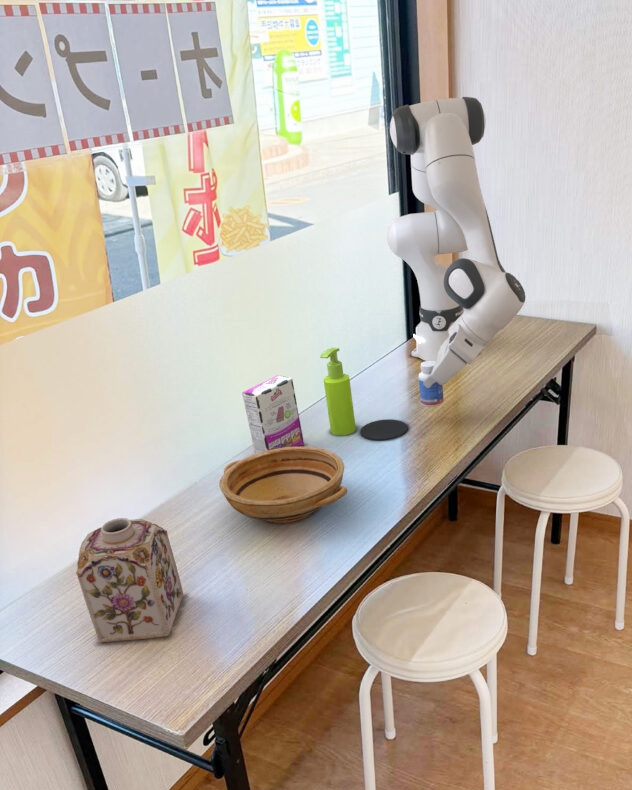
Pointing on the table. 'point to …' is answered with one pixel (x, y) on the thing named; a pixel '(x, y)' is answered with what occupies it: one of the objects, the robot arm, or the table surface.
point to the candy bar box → (273, 415)
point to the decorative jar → (129, 580)
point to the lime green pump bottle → (338, 396)
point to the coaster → (383, 430)
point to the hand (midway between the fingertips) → (427, 379)
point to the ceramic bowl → (283, 483)
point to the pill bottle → (435, 392)
